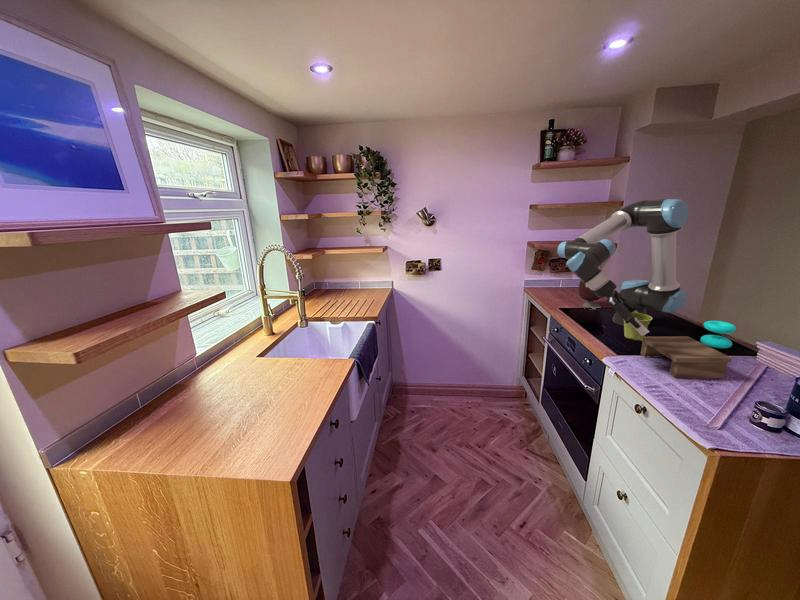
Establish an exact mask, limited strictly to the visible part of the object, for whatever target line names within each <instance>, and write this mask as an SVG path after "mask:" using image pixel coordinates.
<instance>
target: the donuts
mask: <svg viewBox="0 0 800 600" xmlns="http://www.w3.org/2000/svg"><path fill="white" fill-rule="evenodd" d="M703 328H704V329H706V330H708V332H712V333H716V334H705V335H702V336H701V337H700V340H699V342H701V343H703V344H705V345H707V346H709V347H711V348H714V349H715V348H716V349H729V348H731V347H732V346H733V342H732V341H731V340H730V339H729V338H727V337H725V336H723V335H722V336H721V335H717V334H724V335H727V334H728V335H729V334H733V333H735V332H736V331H737V327H736V326H735V325H734V324H733V323H730V322H727V321H722V320H707V321H705V322H704V323H703Z"/></svg>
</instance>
